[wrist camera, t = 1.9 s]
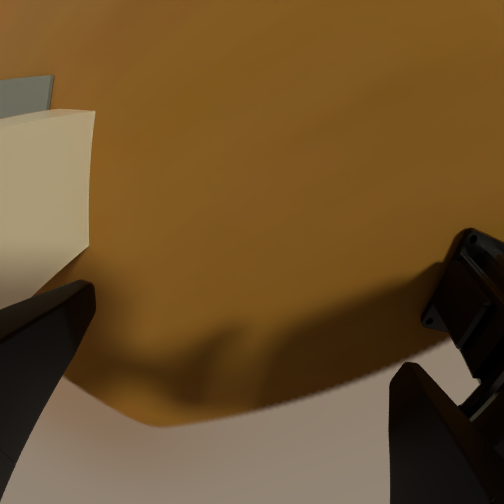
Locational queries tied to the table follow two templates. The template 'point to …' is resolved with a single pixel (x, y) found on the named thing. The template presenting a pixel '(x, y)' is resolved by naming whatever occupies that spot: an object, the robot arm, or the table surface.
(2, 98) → the rubber mat
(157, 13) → the table surface
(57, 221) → the glazed tile
